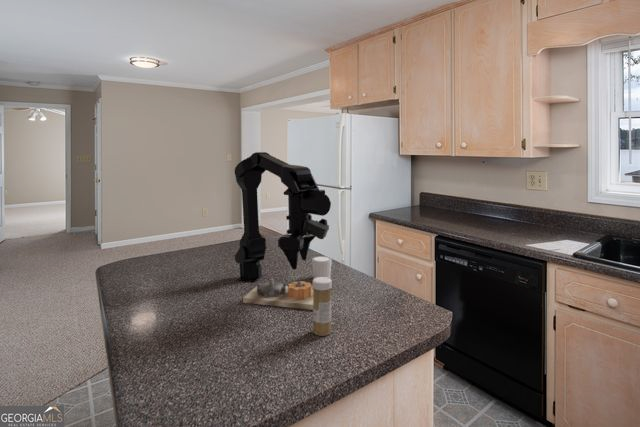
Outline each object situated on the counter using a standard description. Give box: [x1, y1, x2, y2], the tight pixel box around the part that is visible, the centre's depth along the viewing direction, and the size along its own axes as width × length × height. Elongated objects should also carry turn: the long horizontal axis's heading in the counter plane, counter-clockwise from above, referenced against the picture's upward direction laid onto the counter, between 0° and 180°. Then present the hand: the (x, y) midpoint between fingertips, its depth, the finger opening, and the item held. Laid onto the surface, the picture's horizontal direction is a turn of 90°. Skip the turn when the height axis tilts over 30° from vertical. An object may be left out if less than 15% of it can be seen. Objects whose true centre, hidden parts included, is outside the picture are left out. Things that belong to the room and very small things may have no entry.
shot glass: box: [311, 255, 333, 279], centre depth 130 cm, size 7×7×7 cm
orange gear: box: [287, 280, 313, 300], centre depth 112 cm, size 7×7×3 cm
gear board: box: [242, 278, 313, 311], centre depth 113 cm, size 22×12×6 cm, turn 75°
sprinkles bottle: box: [311, 277, 333, 337], centre depth 91 cm, size 5×5×13 cm
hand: (299, 264), depth 110 cm, fingers open, 9 cm apart
